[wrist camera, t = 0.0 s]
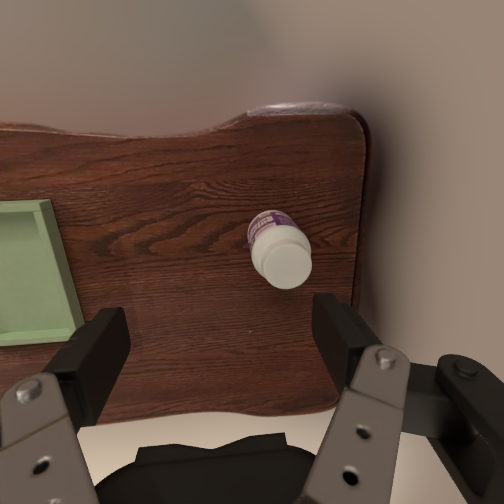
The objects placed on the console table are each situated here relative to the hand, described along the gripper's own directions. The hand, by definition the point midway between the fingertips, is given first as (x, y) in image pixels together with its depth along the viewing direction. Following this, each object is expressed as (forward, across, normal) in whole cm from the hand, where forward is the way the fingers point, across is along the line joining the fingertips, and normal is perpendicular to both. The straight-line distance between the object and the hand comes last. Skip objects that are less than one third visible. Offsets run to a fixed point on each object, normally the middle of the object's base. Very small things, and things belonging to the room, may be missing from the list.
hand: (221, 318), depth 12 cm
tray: (+20, +24, +5) cm, 31 cm away
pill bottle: (+20, -5, +2) cm, 21 cm away
